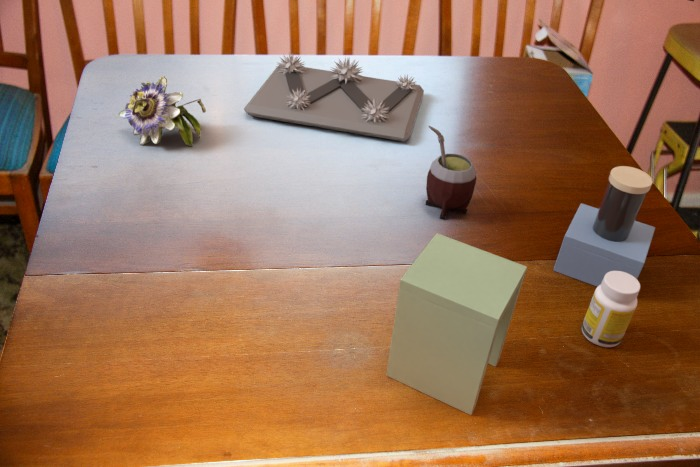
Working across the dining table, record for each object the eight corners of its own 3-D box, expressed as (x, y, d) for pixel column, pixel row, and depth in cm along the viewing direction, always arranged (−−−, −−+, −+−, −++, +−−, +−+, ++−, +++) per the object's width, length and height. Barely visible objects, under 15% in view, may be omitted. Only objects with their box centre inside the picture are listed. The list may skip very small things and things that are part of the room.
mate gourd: (472, 201, 100) (492, 112, 91) (464, 229, 94) (483, 137, 85) (425, 190, 102) (439, 102, 93) (413, 217, 96) (428, 126, 87)
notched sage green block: (499, 360, 74) (527, 266, 66) (471, 415, 68) (498, 319, 59) (419, 326, 78) (436, 232, 69) (385, 375, 71) (400, 279, 63)
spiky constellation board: (242, 119, 116) (240, 81, 112) (278, 72, 133) (278, 38, 129) (408, 146, 112) (413, 108, 108) (423, 95, 129) (428, 60, 125)
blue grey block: (640, 261, 91) (655, 227, 87) (628, 298, 84) (644, 263, 81) (569, 237, 94) (580, 202, 91) (552, 270, 88) (564, 235, 84)
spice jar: (633, 227, 87) (655, 173, 82) (626, 247, 83) (649, 192, 78) (595, 215, 88) (614, 161, 83) (587, 234, 85) (607, 179, 80)
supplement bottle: (627, 334, 79) (651, 282, 74) (611, 355, 76) (635, 302, 71) (590, 314, 82) (611, 262, 76) (573, 333, 79) (594, 281, 74)
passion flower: (149, 171, 111) (100, 114, 105) (185, 134, 117) (140, 79, 112) (189, 156, 103) (137, 94, 98) (224, 117, 110) (178, 57, 105)
